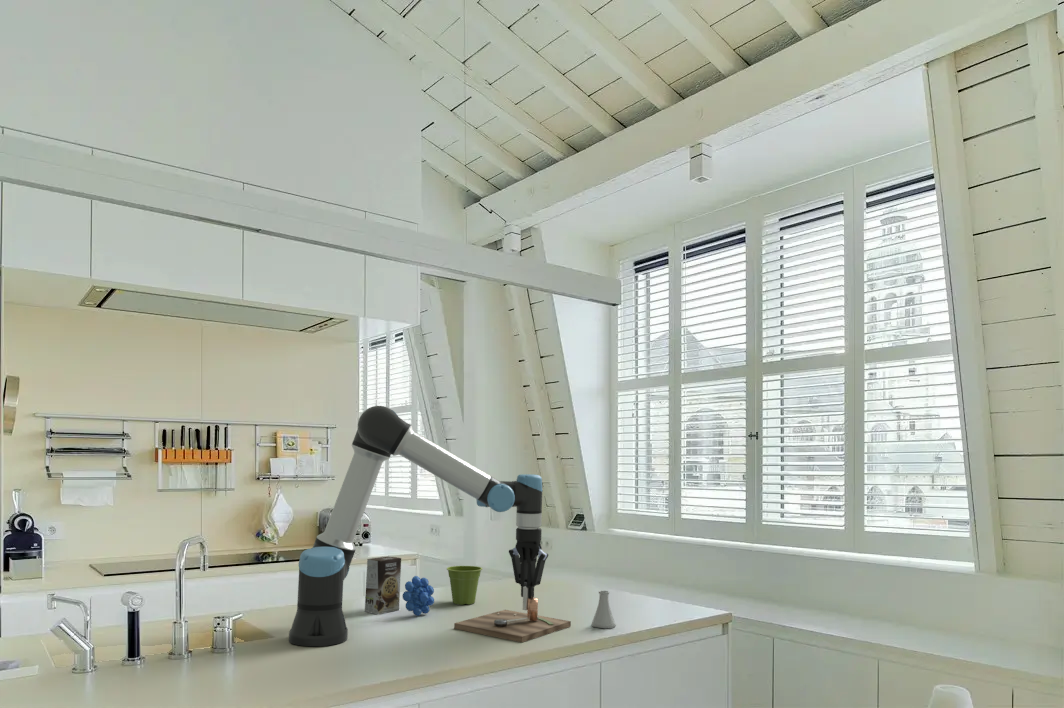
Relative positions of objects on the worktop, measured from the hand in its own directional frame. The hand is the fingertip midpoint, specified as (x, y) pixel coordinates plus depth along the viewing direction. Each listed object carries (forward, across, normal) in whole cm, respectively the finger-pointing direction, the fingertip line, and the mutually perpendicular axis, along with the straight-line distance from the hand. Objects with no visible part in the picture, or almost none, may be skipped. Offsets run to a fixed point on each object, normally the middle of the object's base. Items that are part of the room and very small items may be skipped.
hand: (527, 609), depth 238 cm
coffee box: (+5, +46, +13) cm, 48 cm away
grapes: (+5, +32, +12) cm, 34 cm away
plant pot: (+5, +34, -13) cm, 37 cm away
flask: (+5, -18, -14) cm, 23 cm away
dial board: (+5, +2, +5) cm, 7 cm away
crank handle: (+3, 0, +5) cm, 6 cm away
